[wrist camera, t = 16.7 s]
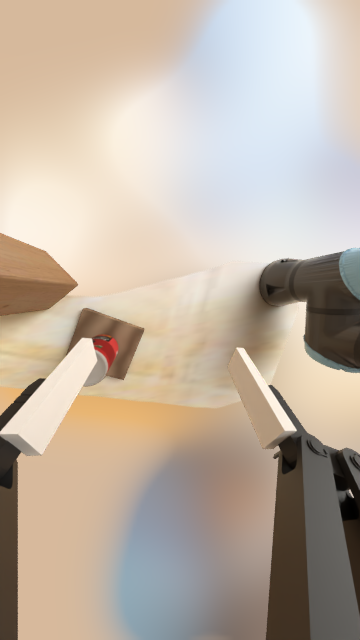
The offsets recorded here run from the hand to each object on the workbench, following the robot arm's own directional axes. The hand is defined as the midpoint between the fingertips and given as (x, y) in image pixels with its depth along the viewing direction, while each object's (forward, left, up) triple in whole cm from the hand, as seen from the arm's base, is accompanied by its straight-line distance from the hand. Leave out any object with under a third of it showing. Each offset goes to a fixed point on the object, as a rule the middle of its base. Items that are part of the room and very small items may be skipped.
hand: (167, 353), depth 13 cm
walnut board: (+9, +14, -29) cm, 33 cm away
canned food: (+10, +14, -27) cm, 32 cm away
